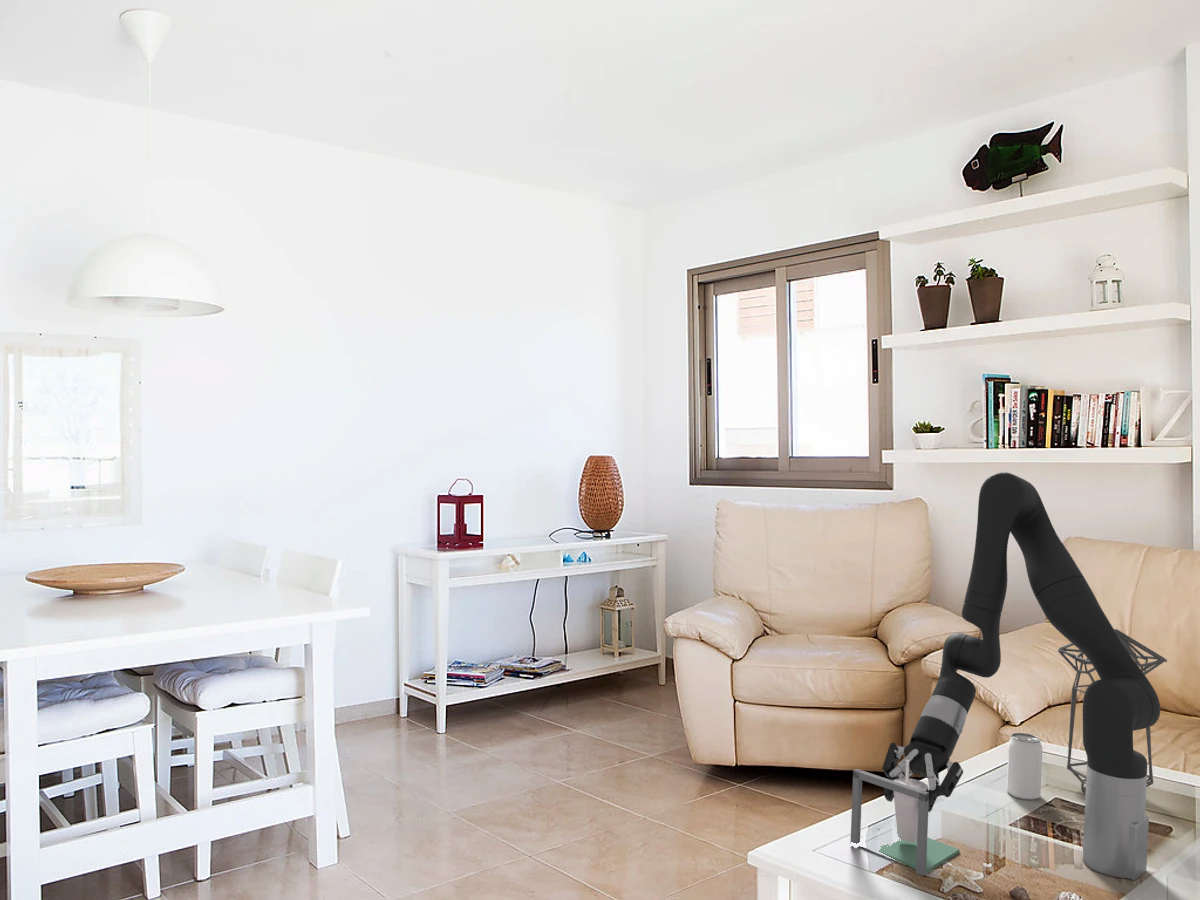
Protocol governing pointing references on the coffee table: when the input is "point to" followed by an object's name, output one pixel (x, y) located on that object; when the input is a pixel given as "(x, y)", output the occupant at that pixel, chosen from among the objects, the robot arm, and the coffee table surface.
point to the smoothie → (907, 808)
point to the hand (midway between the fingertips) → (904, 805)
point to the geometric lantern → (1061, 650)
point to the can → (1024, 766)
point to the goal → (913, 854)
